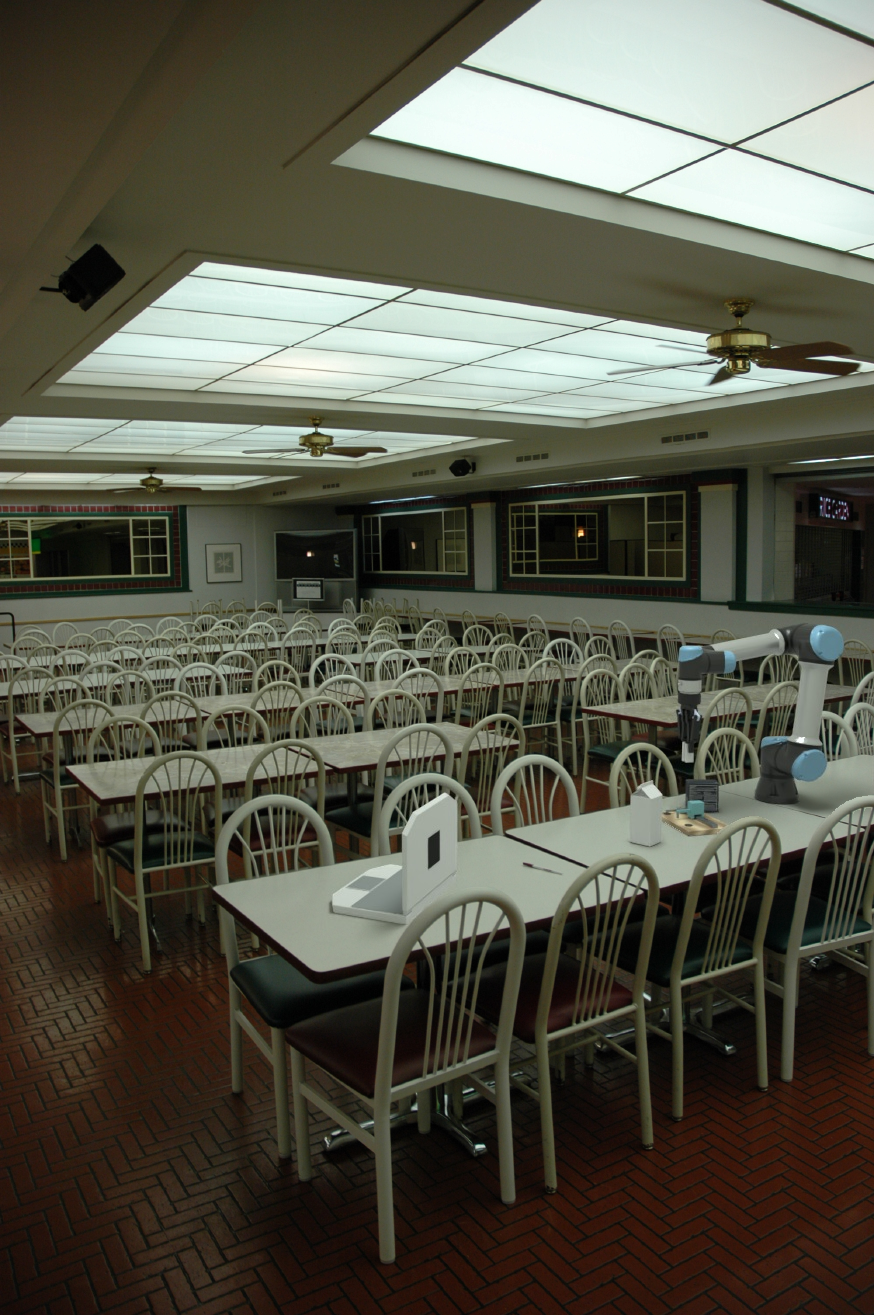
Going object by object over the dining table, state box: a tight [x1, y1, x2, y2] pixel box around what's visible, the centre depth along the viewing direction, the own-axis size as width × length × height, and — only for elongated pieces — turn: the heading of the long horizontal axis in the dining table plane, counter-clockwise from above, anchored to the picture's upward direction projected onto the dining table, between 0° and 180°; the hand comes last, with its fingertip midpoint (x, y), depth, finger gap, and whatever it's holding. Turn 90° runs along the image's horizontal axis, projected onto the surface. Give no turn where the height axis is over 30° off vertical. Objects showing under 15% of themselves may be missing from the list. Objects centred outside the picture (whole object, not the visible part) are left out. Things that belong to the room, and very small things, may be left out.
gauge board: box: [662, 811, 728, 836], centre depth 306 cm, size 16×22×2 cm
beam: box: [665, 806, 718, 828], centre depth 306 cm, size 9×20×1 cm, turn 15°
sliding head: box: [676, 800, 705, 819], centre depth 308 cm, size 9×3×5 cm, turn 105°
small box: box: [684, 778, 720, 813], centre depth 323 cm, size 11×6×10 cm, turn 84°
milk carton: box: [629, 780, 663, 847], centre depth 287 cm, size 7×7×19 cm
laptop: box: [331, 792, 458, 925], centre depth 243 cm, size 33×24×26 cm
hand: (687, 761), depth 312 cm, fingers closed
